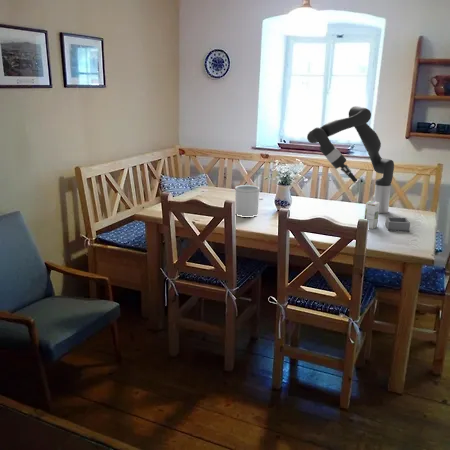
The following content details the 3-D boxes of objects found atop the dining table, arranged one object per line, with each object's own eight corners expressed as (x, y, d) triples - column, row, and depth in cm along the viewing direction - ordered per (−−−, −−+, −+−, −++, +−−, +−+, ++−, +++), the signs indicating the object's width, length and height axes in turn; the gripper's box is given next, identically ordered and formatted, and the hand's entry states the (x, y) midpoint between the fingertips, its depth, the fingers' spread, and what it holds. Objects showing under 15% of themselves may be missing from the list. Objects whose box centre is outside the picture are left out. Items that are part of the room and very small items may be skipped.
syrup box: (367, 225, 268) (369, 200, 264) (377, 227, 265) (379, 201, 260) (363, 227, 264) (365, 202, 260) (373, 229, 260) (375, 203, 256)
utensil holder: (252, 211, 300) (252, 184, 295) (263, 216, 286) (263, 188, 282) (231, 213, 294) (231, 186, 289) (241, 219, 281) (241, 190, 276)
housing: (387, 230, 257) (388, 222, 256) (385, 225, 268) (386, 216, 266) (409, 231, 256) (410, 222, 254) (405, 226, 266) (406, 217, 264)
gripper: (342, 154, 248) (362, 177, 250) (339, 151, 262) (358, 173, 263) (331, 164, 250) (351, 186, 252) (329, 160, 264) (348, 182, 266)
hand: (354, 179), depth 258 cm, fingers open, 8 cm apart
